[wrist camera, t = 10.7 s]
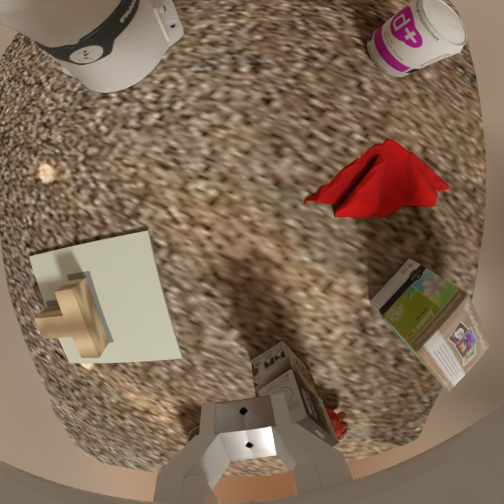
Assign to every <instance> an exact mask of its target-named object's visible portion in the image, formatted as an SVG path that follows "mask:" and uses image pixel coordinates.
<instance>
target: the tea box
mask: <svg viewBox="0 0 504 504" xmlns="http://www.w3.org/2000/svg"><path fill="white" fill-rule="evenodd" d="M370 303H371V305H372V306H373V307H374V308H375V309H376V311H377V312H378V313H379V314H380V315H381V316H382V317H383V318H384V320H385V321H386V322H387V323H388V324H389V325H390V326H391V328H392V329H393V330H394V331H395V332H396V333H397V335H398V336H399V337H400V338H401V339H402V340H403V342H404V343H405V344H406V345H407V346H408V347H409V349H410V350H411V351H412V352H413V353H414V354H415V355H416V356H417V358H418V359H419V360H420V361H421V362H422V363H423V364H424V365H425V367H426V368H427V369H428V370H429V371H430V372H431V373H432V374H433V376H434V377H435V378H436V379H437V380H438V381H439V382H440V383H441V384H442V386H443V387H444V388H445V389H446V390H447V391H450V390H451V389H452V388H453V387H454V386H455V385H456V384H457V383H458V382H459V381H460V379H462V378H463V376H464V375H465V374H466V373H467V372H468V371H469V370H470V369H471V368H472V367H473V365H474V364H475V363H476V362H477V361H478V360H479V358H480V357H481V356H482V355H483V354H484V352H485V351H486V350H487V349H488V348H489V344H488V341H487V338H486V336H485V333H484V330H483V328H482V326H481V323H480V321H479V318H478V316H477V313H476V311H475V308H474V306H473V304H472V302H471V300H470V297H469V295H468V294H467V293H465V292H464V291H462V290H461V289H459V288H458V287H456V286H455V285H453V284H451V283H450V282H448V281H447V280H445V279H443V278H442V277H440V276H439V275H437V274H435V273H434V272H432V271H430V270H429V269H427V268H425V267H423V266H422V265H420V264H419V263H417V262H415V261H413V260H412V259H410V258H409V259H408V260H407V261H406V262H405V263H404V265H403V266H402V267H401V268H400V269H399V270H398V271H397V272H396V273H395V275H394V276H393V277H392V278H391V279H390V280H389V281H388V282H387V283H386V284H385V285H384V286H383V288H382V289H381V290H380V291H379V292H378V293H377V294H376V295H375V296H374V297H373V298H372V299H371V300H370Z"/></svg>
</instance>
